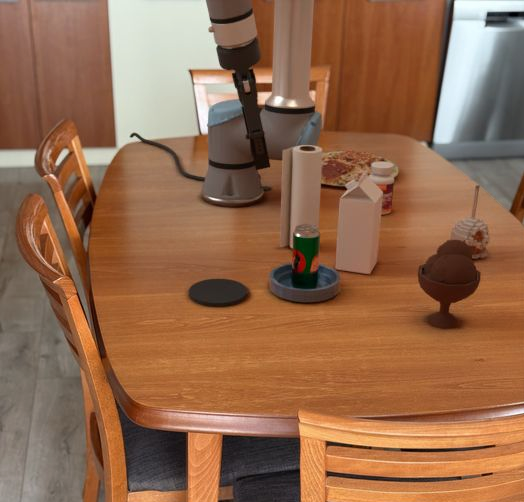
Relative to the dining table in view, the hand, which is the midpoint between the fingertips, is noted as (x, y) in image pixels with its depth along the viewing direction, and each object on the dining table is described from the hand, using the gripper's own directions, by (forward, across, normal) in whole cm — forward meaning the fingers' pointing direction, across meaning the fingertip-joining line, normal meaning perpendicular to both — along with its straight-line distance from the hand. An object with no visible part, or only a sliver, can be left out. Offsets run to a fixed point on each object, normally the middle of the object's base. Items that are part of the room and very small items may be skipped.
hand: (258, 152), depth 162 cm
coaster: (+19, +16, -13) cm, 28 cm away
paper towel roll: (+27, -7, +5) cm, 28 cm away
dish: (+23, +15, +3) cm, 27 cm away
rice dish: (+38, -57, +23) cm, 72 cm away
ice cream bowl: (+26, +30, +25) cm, 47 cm away
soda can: (+22, +15, +3) cm, 27 cm away
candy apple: (+33, 0, +39) cm, 51 cm away
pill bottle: (+34, -27, +26) cm, 51 cm away
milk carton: (+27, +5, +15) cm, 31 cm away
